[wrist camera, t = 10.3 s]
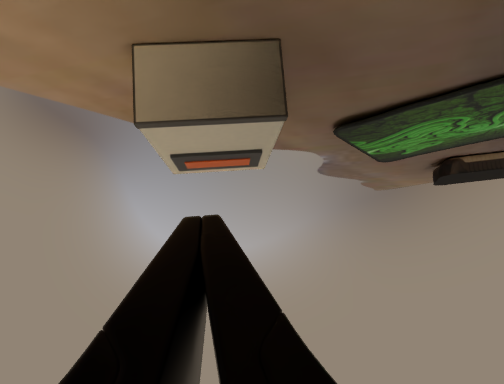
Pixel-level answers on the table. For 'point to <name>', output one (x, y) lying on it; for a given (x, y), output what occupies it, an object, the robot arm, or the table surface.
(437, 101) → the mouse mat
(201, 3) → the table surface
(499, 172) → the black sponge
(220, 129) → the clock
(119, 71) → the table surface
